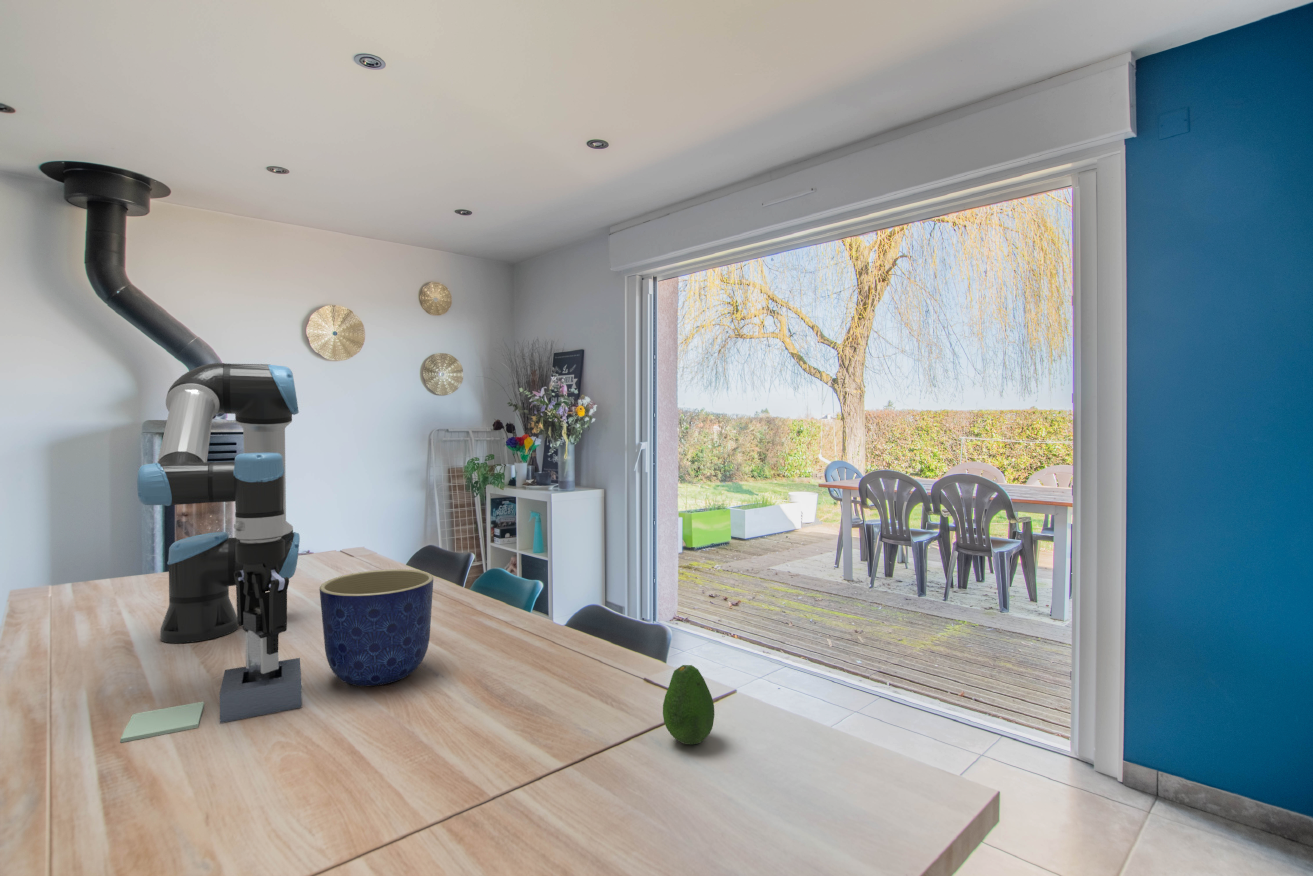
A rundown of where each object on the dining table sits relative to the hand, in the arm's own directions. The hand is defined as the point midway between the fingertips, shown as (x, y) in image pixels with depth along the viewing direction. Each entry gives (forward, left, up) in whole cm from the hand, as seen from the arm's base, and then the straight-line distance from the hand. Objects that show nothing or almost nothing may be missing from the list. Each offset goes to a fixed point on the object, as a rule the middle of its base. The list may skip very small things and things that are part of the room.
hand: (262, 668), depth 116 cm
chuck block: (0, 0, -6) cm, 6 cm away
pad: (+1, -14, -6) cm, 15 cm away
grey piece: (0, 0, -4) cm, 4 cm away
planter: (-2, +20, -6) cm, 21 cm away
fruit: (+51, +58, -6) cm, 78 cm away
